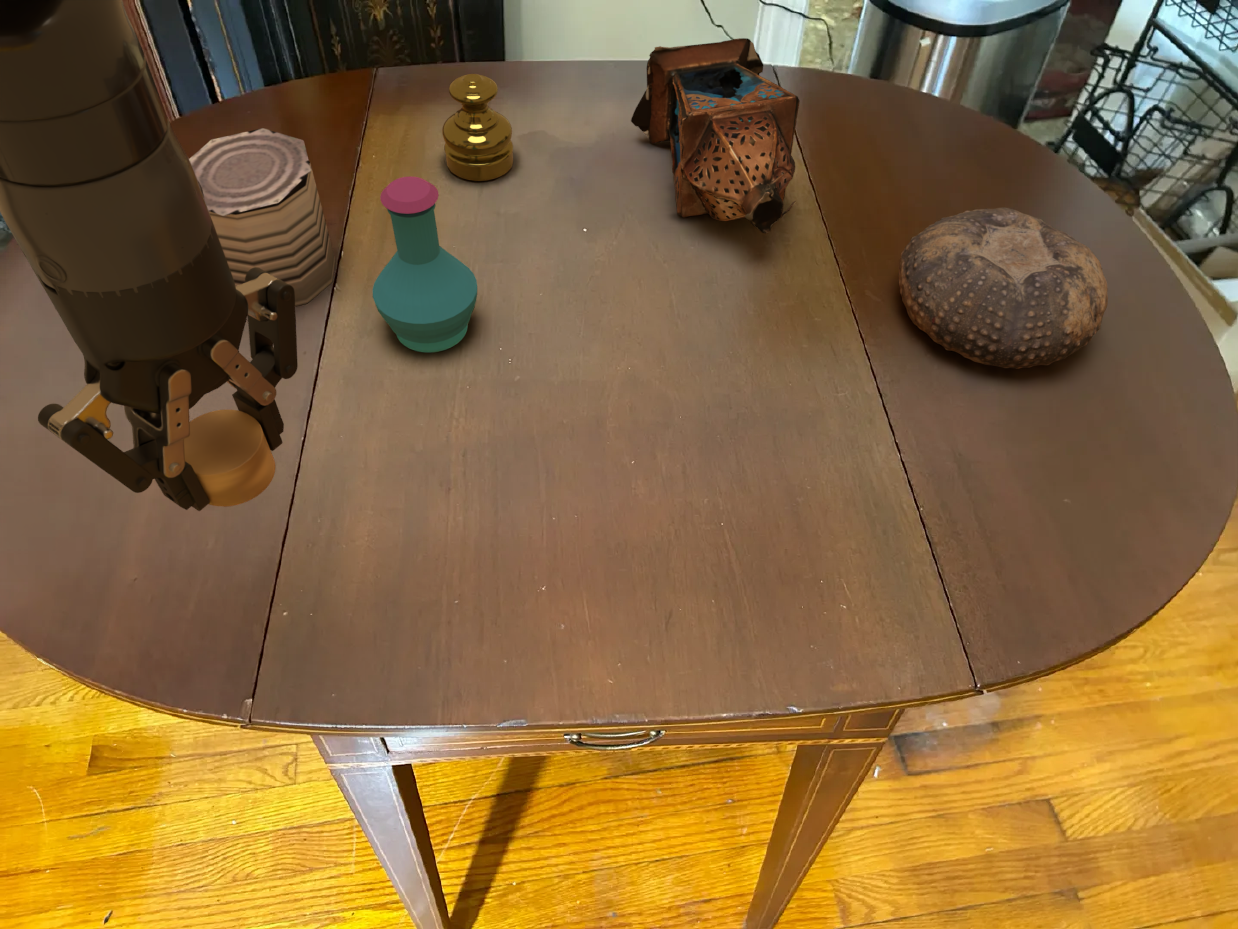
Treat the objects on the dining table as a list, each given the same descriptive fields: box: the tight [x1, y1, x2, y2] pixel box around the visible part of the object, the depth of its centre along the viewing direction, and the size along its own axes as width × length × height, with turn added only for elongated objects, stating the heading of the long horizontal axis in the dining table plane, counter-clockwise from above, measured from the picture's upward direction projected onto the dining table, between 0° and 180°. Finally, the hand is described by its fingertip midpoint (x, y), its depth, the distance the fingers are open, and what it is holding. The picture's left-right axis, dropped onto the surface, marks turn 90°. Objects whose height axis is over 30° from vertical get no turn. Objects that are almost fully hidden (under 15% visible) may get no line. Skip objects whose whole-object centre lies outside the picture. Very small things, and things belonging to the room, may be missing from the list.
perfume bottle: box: [371, 176, 478, 353], centre depth 79 cm, size 9×9×15 cm
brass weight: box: [441, 73, 514, 182], centre depth 97 cm, size 7×7×10 cm
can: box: [189, 127, 336, 307], centre depth 84 cm, size 11×11×12 cm
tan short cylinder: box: [184, 409, 276, 508], centre depth 52 cm, size 5×5×3 cm
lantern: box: [630, 37, 801, 234], centre depth 94 cm, size 16×16×25 cm
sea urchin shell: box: [898, 207, 1109, 370], centre depth 85 cm, size 19×19×10 cm
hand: (230, 469), depth 53 cm, fingers closed on tan short cylinder, 4 cm apart
